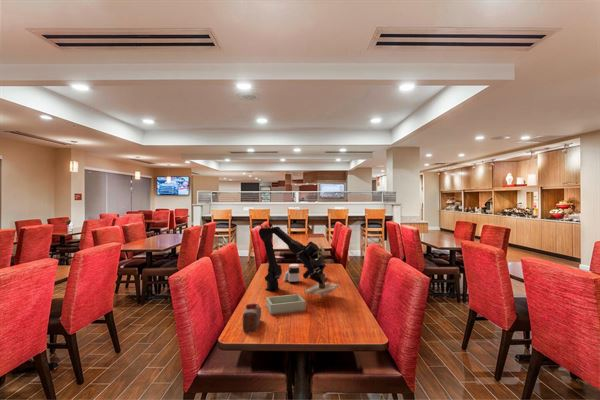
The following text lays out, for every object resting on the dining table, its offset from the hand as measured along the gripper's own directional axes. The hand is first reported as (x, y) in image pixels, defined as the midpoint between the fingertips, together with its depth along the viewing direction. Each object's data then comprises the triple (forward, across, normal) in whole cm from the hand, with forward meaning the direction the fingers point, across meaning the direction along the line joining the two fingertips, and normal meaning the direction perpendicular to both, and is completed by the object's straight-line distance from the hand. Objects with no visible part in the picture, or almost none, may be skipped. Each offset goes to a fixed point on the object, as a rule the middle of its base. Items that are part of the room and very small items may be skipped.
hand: (324, 282), depth 175 cm
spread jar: (-18, +21, +32) cm, 42 cm away
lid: (+2, 0, +4) cm, 4 cm away
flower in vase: (-9, +38, +23) cm, 45 cm away
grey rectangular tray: (-1, -23, +14) cm, 27 cm away
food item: (-2, -48, +16) cm, 50 cm away
